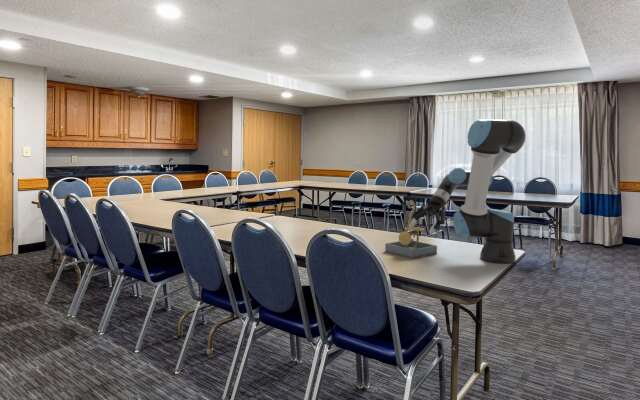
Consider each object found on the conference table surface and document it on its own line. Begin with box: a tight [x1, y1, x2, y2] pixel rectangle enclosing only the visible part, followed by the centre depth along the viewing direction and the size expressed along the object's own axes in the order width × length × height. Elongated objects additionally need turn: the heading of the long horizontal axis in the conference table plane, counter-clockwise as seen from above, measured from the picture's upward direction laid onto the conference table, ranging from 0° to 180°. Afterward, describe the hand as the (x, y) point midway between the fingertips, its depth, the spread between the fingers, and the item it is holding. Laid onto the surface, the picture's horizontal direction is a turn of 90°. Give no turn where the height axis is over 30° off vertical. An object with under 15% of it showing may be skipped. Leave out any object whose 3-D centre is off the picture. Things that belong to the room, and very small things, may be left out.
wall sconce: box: [398, 199, 425, 250], centre depth 209 cm, size 14×10×25 cm
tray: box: [384, 240, 438, 259], centre depth 210 cm, size 17×18×4 cm
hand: (419, 231), depth 213 cm, fingers open, 13 cm apart
